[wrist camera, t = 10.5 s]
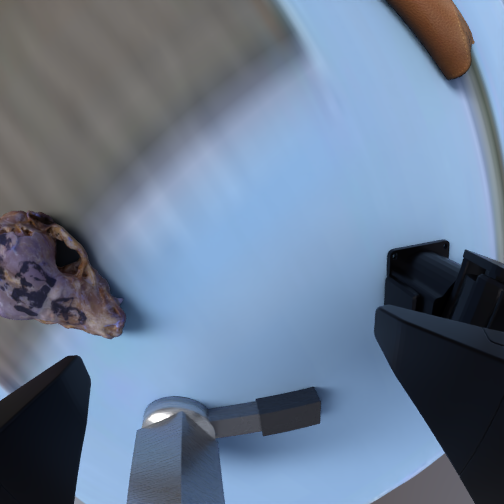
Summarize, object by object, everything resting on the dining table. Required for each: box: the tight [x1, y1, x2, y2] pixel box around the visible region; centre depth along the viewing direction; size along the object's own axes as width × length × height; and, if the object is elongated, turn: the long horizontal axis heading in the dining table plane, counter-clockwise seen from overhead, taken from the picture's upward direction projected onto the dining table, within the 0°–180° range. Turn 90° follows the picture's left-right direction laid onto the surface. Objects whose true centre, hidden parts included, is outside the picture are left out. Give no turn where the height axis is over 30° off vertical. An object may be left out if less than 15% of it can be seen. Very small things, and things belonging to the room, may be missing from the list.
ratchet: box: [142, 387, 321, 439], centre depth 23 cm, size 16×6×4 cm, turn 97°
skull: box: [0, 211, 126, 339], centre depth 17 cm, size 12×8×6 cm, turn 46°
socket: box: [127, 411, 225, 504], centre depth 18 cm, size 5×5×10 cm
